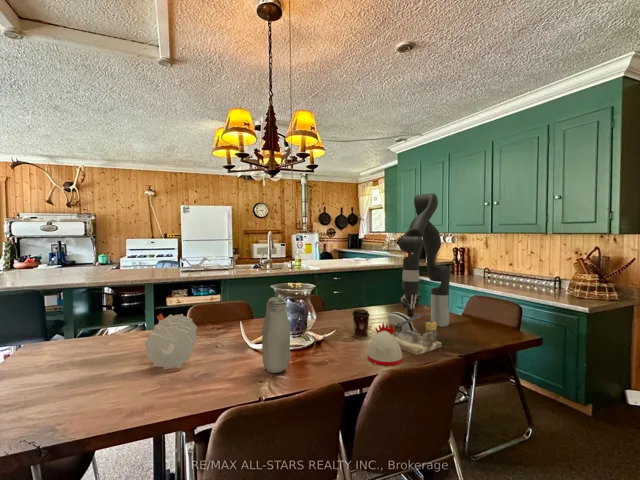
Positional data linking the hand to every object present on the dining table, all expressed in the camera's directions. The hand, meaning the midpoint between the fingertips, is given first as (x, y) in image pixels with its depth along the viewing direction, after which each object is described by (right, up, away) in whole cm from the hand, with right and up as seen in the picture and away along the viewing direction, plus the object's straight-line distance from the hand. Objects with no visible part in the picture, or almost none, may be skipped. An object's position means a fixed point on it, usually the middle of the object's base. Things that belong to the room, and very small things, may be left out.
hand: (410, 316), depth 150 cm
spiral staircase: (-102, -14, -18) cm, 104 cm away
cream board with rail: (0, -13, +1) cm, 13 cm away
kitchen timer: (-15, -14, -17) cm, 27 cm away
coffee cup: (-22, -13, +12) cm, 28 cm away
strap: (-1, -3, +2) cm, 4 cm away
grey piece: (+2, -13, +24) cm, 27 cm away
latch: (+9, -5, -1) cm, 11 cm away
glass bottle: (-58, -14, -28) cm, 66 cm away
